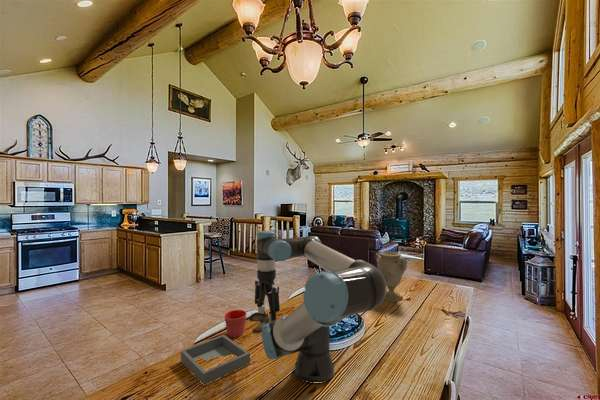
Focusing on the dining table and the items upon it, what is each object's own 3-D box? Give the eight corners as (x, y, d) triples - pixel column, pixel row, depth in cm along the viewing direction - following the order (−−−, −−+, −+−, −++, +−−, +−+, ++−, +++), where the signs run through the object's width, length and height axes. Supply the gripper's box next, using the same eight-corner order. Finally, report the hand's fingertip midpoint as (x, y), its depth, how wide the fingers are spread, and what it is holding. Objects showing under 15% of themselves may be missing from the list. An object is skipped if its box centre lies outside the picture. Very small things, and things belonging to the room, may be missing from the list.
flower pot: (224, 340, 133) (224, 320, 133) (224, 330, 144) (224, 310, 144) (247, 337, 136) (247, 317, 136) (245, 327, 147) (245, 308, 147)
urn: (367, 296, 191) (367, 252, 191) (384, 290, 202) (384, 248, 202) (398, 307, 172) (398, 258, 172) (415, 300, 183) (415, 254, 182)
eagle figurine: (259, 317, 120) (244, 321, 113) (268, 305, 119) (254, 308, 111) (269, 332, 116) (254, 337, 109) (279, 320, 115) (264, 324, 107)
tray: (250, 364, 114) (249, 353, 114) (203, 386, 101) (203, 374, 101) (223, 344, 130) (223, 334, 130) (180, 361, 116) (180, 350, 116)
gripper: (289, 271, 111) (289, 330, 111) (260, 263, 125) (260, 315, 126) (273, 275, 106) (274, 336, 106) (245, 266, 120) (245, 320, 121)
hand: (266, 324), depth 116 cm, fingers closed on eagle figurine, 7 cm apart
